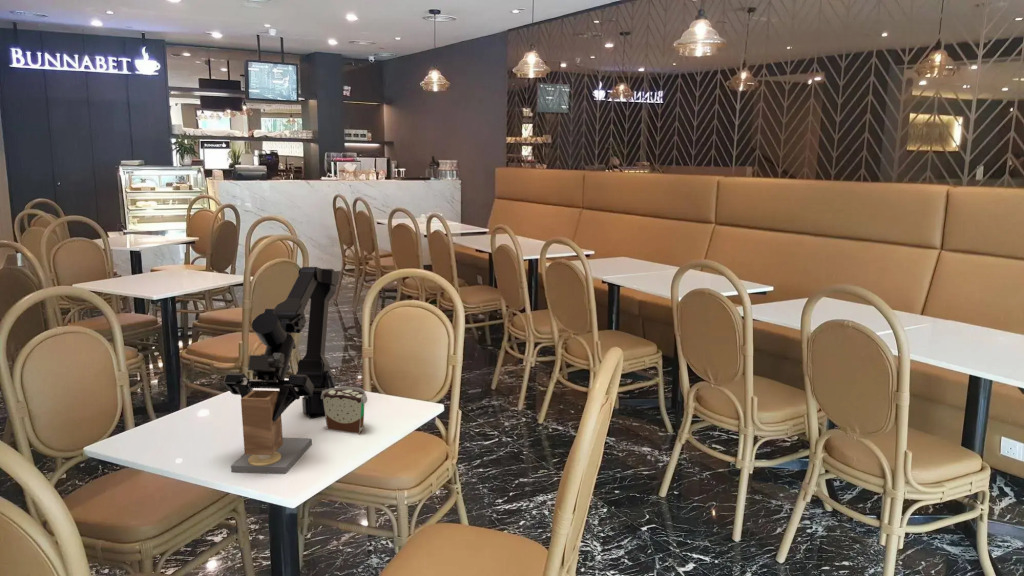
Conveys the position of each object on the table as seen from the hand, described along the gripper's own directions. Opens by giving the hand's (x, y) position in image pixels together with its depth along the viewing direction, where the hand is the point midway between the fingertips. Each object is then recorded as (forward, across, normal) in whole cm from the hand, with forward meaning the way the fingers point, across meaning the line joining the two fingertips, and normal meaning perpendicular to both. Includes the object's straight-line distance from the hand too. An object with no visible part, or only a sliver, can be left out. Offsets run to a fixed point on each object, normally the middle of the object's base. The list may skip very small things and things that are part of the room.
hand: (259, 420), depth 149 cm
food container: (-10, +12, +26) cm, 30 cm away
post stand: (+4, 0, +12) cm, 12 cm away
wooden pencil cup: (+4, 0, +6) cm, 7 cm away
